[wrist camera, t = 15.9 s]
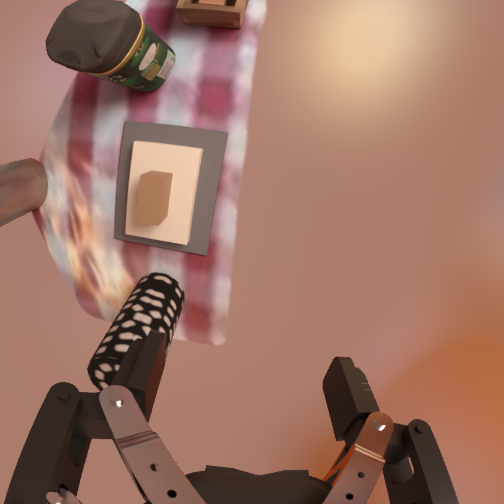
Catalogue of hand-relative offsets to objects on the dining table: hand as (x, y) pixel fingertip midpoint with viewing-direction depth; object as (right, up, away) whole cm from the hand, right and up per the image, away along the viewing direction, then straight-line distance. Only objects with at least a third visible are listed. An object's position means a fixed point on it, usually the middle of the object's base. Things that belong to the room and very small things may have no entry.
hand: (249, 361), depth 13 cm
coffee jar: (-15, +31, +20) cm, 40 cm away
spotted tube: (-15, -2, +33) cm, 37 cm away
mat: (-12, +14, +27) cm, 32 cm away
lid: (-12, +14, +26) cm, 32 cm away
